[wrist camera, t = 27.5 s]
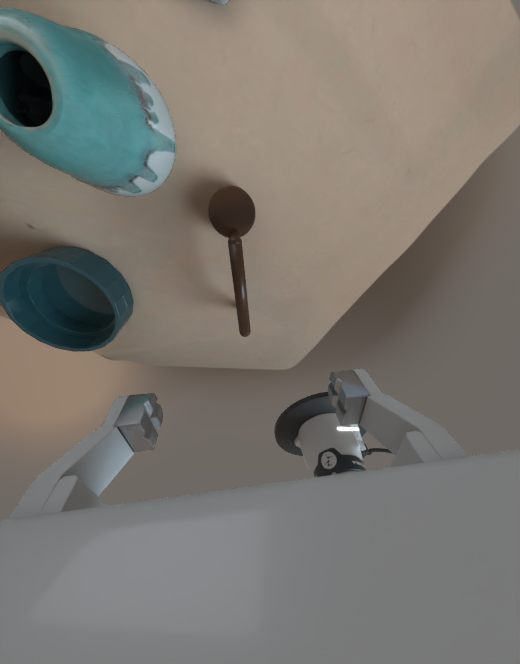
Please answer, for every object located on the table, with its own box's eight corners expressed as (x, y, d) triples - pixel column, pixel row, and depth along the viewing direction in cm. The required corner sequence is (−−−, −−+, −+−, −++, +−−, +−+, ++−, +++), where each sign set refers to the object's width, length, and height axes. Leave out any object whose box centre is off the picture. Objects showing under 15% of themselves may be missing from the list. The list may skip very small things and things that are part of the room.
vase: (63, 49, 23) (-241, -189, 8) (183, 83, 25) (112, -56, 10) (86, 184, 29) (-66, 187, 14) (182, 203, 31) (136, 222, 16)
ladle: (206, 187, 31) (198, 189, 23) (252, 184, 31) (257, 185, 24) (226, 312, 41) (225, 341, 34) (260, 309, 41) (266, 336, 34)
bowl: (153, 301, 39) (141, 319, 34) (96, 343, 42) (77, 365, 37) (71, 224, 32) (41, 232, 27) (10, 282, 35) (-27, 299, 30)
